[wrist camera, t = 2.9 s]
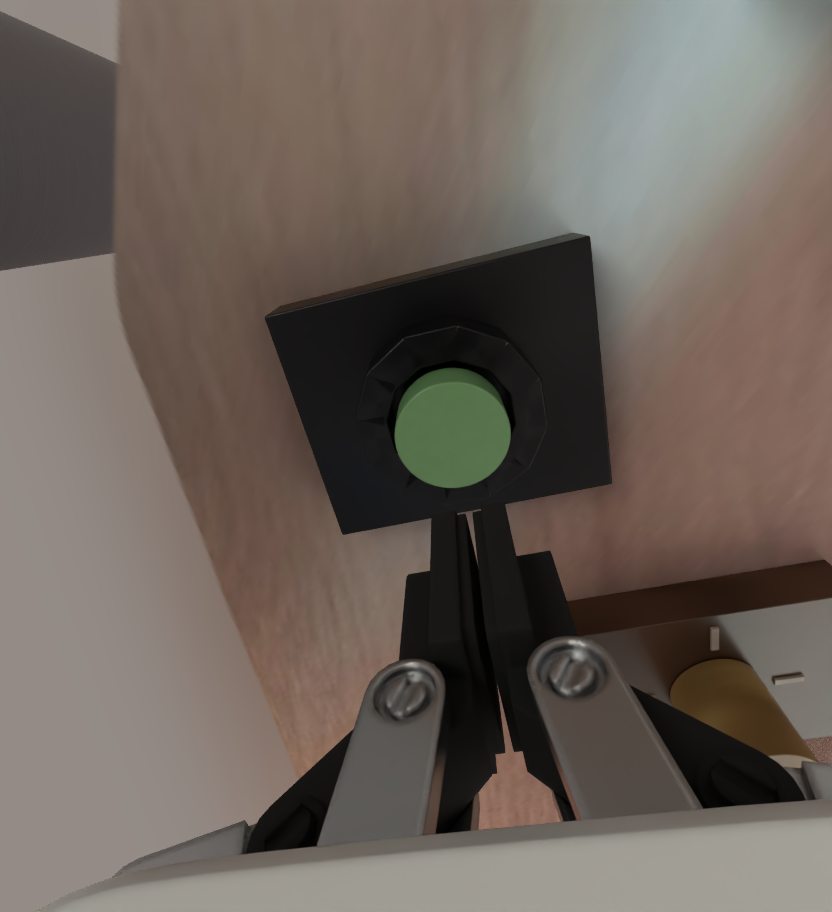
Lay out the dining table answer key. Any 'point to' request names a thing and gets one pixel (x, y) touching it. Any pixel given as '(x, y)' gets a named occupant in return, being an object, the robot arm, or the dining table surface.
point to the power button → (452, 428)
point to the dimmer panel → (727, 634)
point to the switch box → (452, 346)
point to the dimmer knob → (740, 709)
